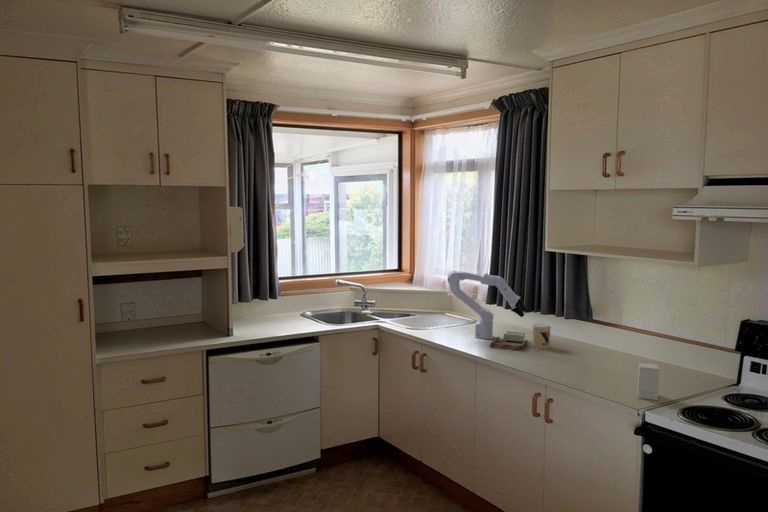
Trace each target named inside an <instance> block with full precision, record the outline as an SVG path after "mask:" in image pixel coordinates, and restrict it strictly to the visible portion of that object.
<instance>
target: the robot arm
mask: <svg viewBox="0 0 768 512" xmlns="http://www.w3.org/2000/svg"><path fill="white" fill-rule="evenodd" d="M447 274H448V275H447V283H448V286H449V290H450V293H452V294H453V295H454V296H455V297H456V298H457V299H459V300H460V301H461V302H463V303H464V304H465V305H466V306H467V307H469V308H470V309H471V310H473V311H474V312H475V313H476V314H477V315H478V316H479V317H480V318H481V319H480V320H479V321H478V320H477V321H476V323H475V326H474V327H475V328H474V329H475V333H474V335H475V337H474V338H476V339H484V340H485V339H486V340H492V339H493V338H496V337H495V335H494V333H493V331H494V314H493V313H492V311H491V310H490V309H489V308H486V307H483V306H482V305H480V303H478V302H477V301H475V300H474V299H473V298H472V297H470V296H469V295H468V294H467V293H466V292H464V291H463V290H462V289H461V288H460V283H461V281H462V282H463V281H465V280H470V281H477V282H480V284H482V285H486V286H492V287H493V286H495V287H496V288H497V289H498V290H499V293H500V294H501V295H502V296H503V297H504V299H505V300H506V301H507V302H508V304H509V306H510V311H511V312H513V313H515V314H517V315H518V316H519V317H521V318H523V317H524V316H525V313H524V312H525V311H526V310H527V308H526V306H525V304H524V302H523V297H521V296H518V294H516V293H515V292H514V291H513V290H512V288H511V287H510V285H508V284H507V282H506V280H505V279H504V278H503V277H502V276H499V275H492V274H491V275H490V274H489V273H486V272H485V273H482V274H481V275H480V274H475V273H471V272H467V271H462V270H460V271H459V270H458V271H457V270H451V271H449V272H448V273H447Z"/></svg>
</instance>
